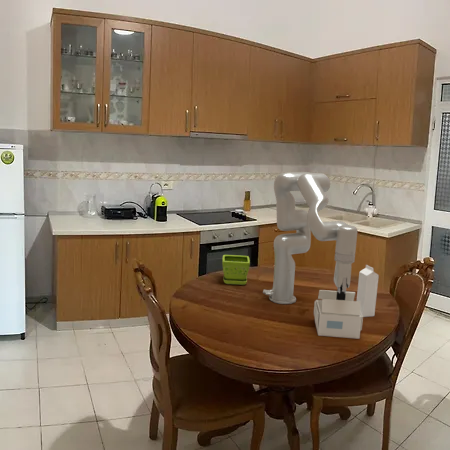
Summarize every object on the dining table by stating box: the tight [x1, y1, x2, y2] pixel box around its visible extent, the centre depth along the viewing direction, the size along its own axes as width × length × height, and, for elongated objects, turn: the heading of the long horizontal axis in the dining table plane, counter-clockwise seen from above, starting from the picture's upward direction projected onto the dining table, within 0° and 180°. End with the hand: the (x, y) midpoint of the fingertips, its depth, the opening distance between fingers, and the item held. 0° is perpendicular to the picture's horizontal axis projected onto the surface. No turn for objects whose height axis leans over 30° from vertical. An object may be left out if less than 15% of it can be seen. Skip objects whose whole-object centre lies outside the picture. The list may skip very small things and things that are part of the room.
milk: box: [356, 264, 380, 318], centre depth 215 cm, size 6×6×22 cm
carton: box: [313, 299, 364, 340], centre depth 199 cm, size 17×16×9 cm
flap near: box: [321, 299, 360, 315], centre depth 191 cm, size 15×5×1 cm
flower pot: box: [221, 254, 251, 286], centre depth 253 cm, size 14×14×13 cm
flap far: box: [317, 289, 356, 301], centre depth 204 cm, size 15×5×1 cm
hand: (340, 302), depth 193 cm, fingers closed
